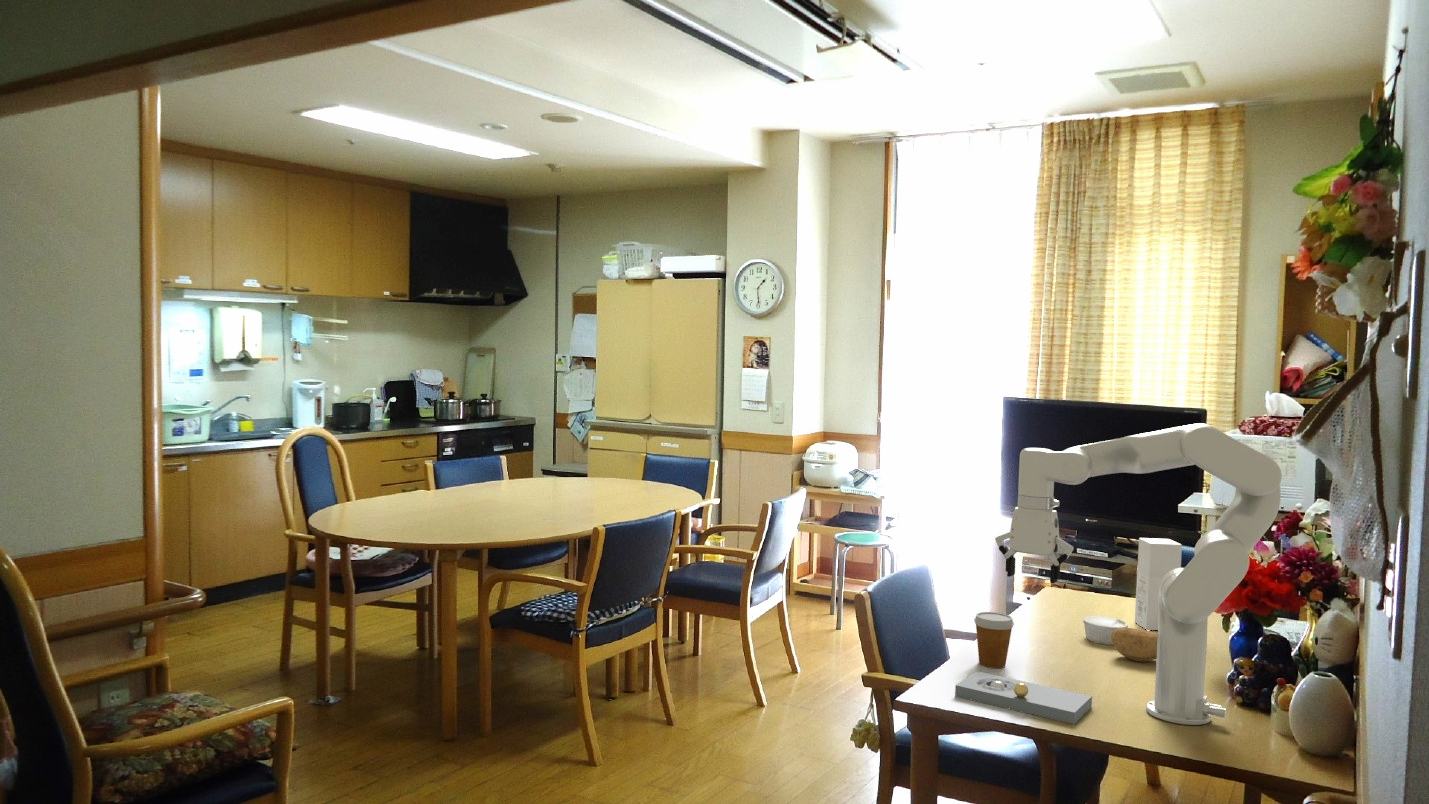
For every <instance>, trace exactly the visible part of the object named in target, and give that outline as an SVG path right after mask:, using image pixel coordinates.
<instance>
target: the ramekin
mask: <svg viewBox="0 0 1429 804" xmlns="http://www.w3.org/2000/svg"><path fill="white" fill-rule="evenodd" d="M1082 622H1083V624H1084V625H1083V626H1084V632H1085V633H1084V634H1085V637H1086V638H1087V640H1089V641H1090V642H1092V641H1094V642H1093V643H1095V642H1096V644H1101V645H1107V644H1113V643H1112V641H1111V635H1112V633H1113V631H1114V630H1115V629H1117V628H1119V627H1127V628H1129V625H1128V623H1127V622H1126V621H1124V620H1122V619H1119V618H1115V617H1110V616H1102V615H1101V616H1099V615H1093V616H1092V615H1090V616H1085V617H1084V618H1083V621H1082Z"/></svg>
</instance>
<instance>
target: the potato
mask: <svg viewBox="0 0 1429 804" xmlns="http://www.w3.org/2000/svg"><path fill="white" fill-rule="evenodd" d="M1111 641H1112V643H1113V645H1112V646H1113V647H1114V648H1115V650H1116V651H1117V652H1118V653H1119V654H1120V655H1122V656H1123V657H1125V658H1126V659H1130V660H1132V661H1134V662H1135V661H1136V662H1149V661H1153V660H1157V641H1158V631H1147V630H1145V629H1144V628H1134V627H1133V628H1132V627H1128V628H1127V627H1119V628H1117V629H1115V630H1114V631H1113V633H1112V635H1111Z"/></svg>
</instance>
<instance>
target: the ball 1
mask: <svg viewBox="0 0 1429 804" xmlns="http://www.w3.org/2000/svg"><path fill="white" fill-rule="evenodd" d="M990 687H994V688H1005V685H1004V684H1003V683H1002V682H1000V681H993V682H992V683H991V684H990Z"/></svg>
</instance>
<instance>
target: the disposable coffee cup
mask: <svg viewBox="0 0 1429 804" xmlns="http://www.w3.org/2000/svg"><path fill="white" fill-rule="evenodd" d="M973 621H974V624H975V629H976V630H975V631H976V639H977V640H976V643H977V653H978V654H977V655H978V663H979V665H981V666H983V667H986V668H990V669H991V668H992V669H1002V668H1005V667H1006V663H1007V659H1008V652H1009V646H1010V642H1011V634H1012V628H1014V625H1015V622H1014V620H1013V617H1012V616H1011V615H1008V614H1005V613H1001V612H996V611H995V612H993V611H982V612H978V613H976V616H975V618H973Z"/></svg>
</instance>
